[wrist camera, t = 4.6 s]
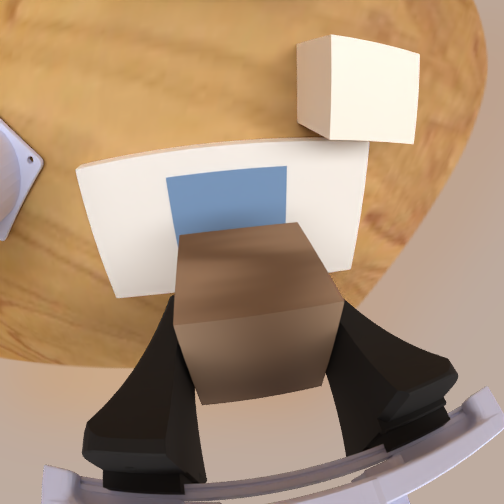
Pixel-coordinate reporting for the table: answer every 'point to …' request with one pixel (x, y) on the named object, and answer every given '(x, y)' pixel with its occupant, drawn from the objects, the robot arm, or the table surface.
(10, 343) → the table surface
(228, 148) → the board
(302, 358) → the walnut block
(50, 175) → the table surface
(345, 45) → the cream block
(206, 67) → the table surface
